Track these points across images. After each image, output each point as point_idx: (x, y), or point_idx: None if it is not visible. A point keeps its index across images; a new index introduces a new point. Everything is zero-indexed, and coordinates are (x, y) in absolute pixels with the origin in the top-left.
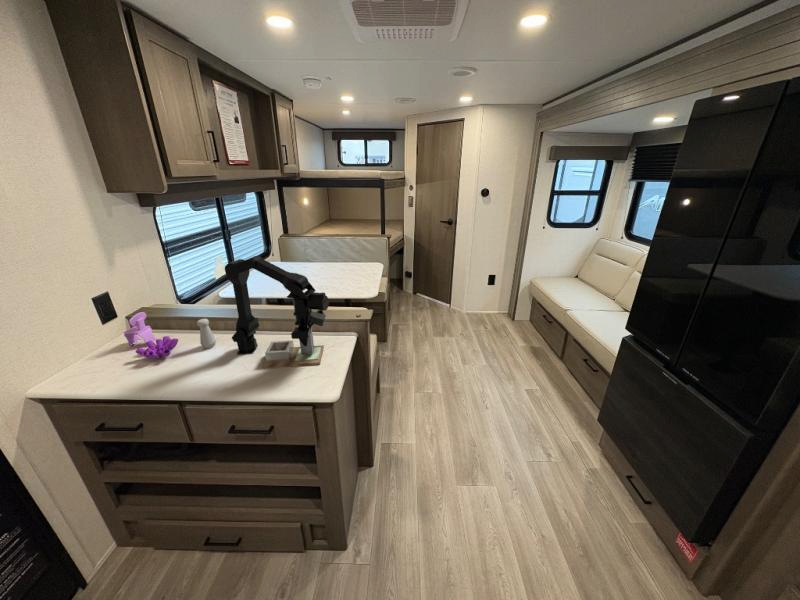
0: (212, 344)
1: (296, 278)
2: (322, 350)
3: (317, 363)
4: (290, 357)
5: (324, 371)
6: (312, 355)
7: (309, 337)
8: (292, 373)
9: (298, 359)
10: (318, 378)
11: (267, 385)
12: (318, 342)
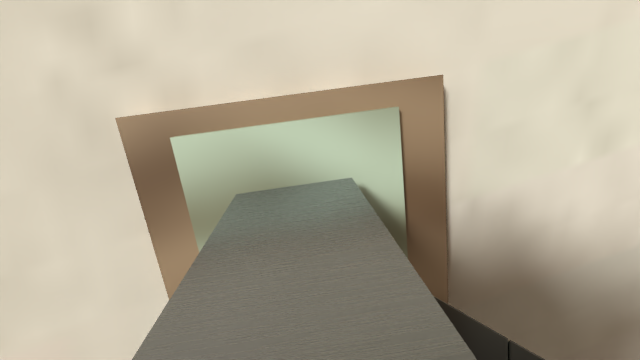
0: None
1: None
2: (223, 105)
3: (438, 98)
4: None
5: (542, 3)
6: (336, 178)
7: (441, 330)
8: (528, 258)
9: None
10: (631, 34)
11: (625, 354)
12: (43, 200)
